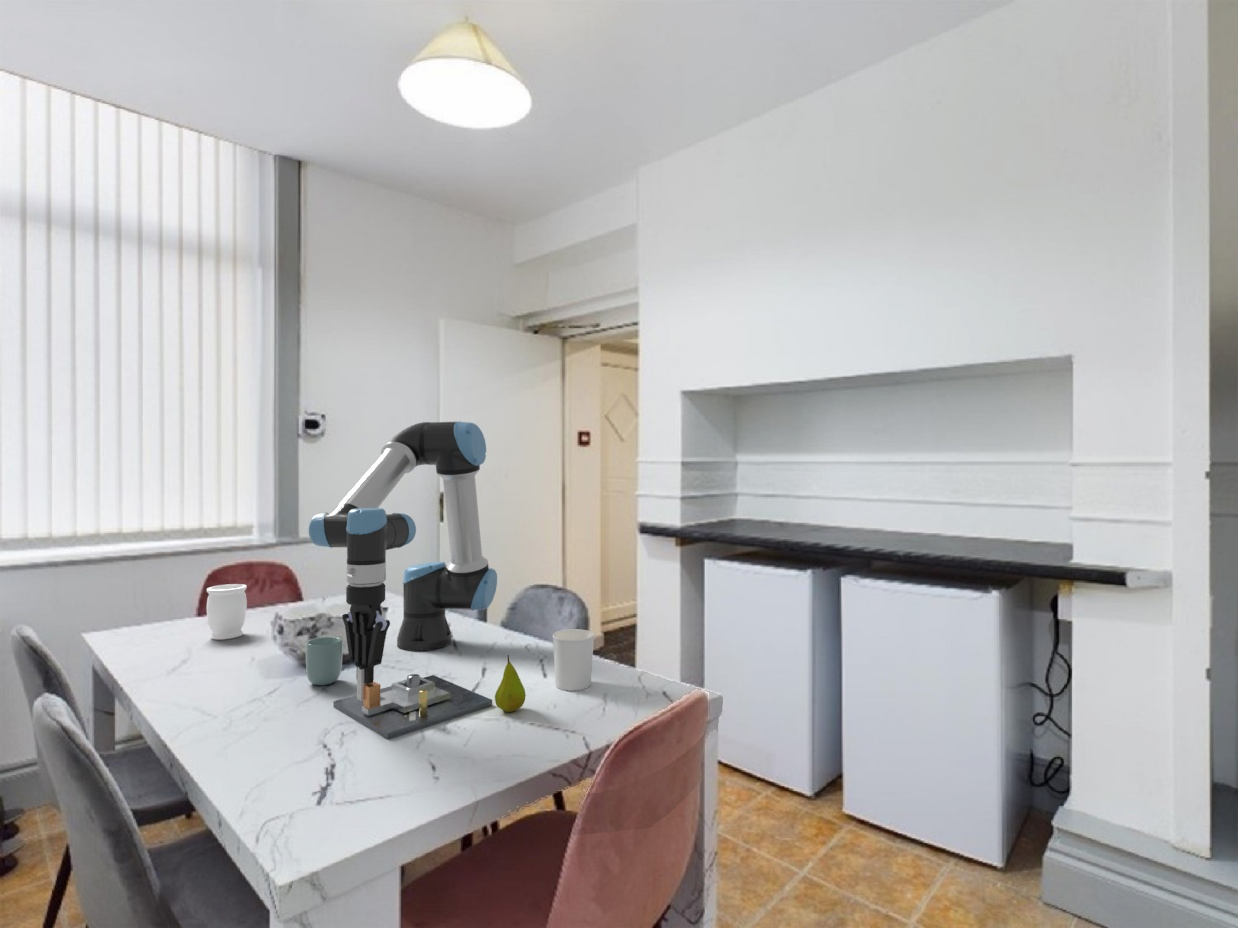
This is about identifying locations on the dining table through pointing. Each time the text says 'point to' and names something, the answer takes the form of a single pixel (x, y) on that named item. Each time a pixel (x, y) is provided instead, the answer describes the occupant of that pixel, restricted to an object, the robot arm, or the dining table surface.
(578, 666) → the white tumbler
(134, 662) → the dining table surface
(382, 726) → the base
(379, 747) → the dining table surface
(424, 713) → the dowel
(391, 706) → the grey metal fixture
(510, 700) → the fruit
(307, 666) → the cup
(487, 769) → the dining table surface
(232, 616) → the jar
